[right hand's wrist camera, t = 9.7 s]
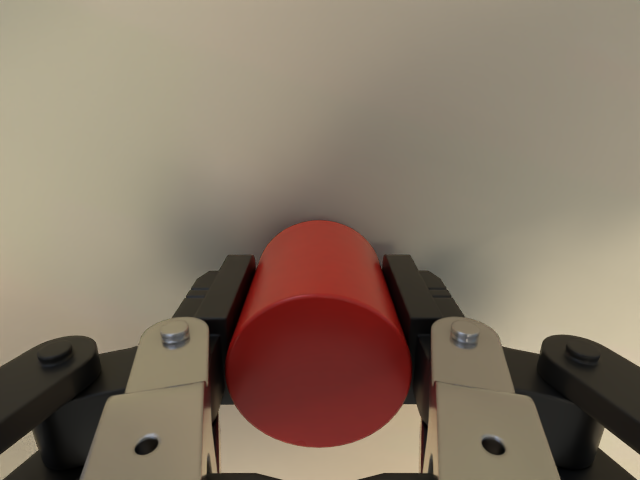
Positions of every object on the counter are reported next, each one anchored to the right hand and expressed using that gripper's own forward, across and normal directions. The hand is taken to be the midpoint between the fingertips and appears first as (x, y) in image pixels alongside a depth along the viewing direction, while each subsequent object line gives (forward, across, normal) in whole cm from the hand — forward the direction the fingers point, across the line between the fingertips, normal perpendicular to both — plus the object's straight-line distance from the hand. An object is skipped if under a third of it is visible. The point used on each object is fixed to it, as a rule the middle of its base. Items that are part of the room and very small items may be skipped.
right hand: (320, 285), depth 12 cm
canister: (+1, 0, 0) cm, 1 cm away
